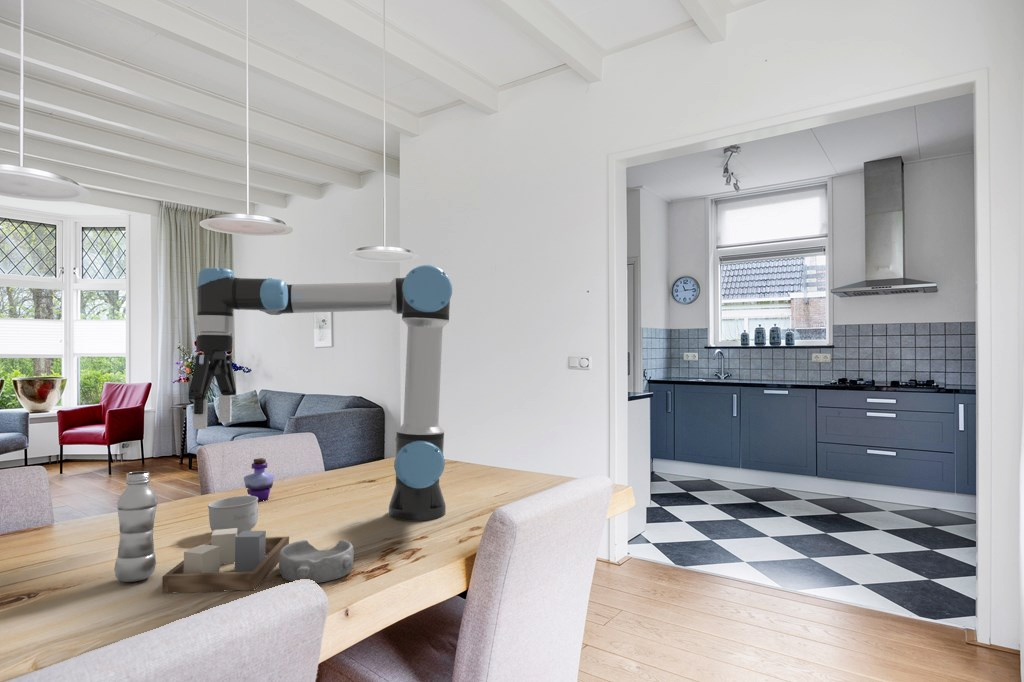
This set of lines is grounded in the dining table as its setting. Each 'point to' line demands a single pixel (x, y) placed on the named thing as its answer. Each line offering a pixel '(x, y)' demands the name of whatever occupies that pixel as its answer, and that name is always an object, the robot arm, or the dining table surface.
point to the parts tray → (224, 574)
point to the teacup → (234, 513)
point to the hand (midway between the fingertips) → (213, 425)
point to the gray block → (249, 550)
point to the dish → (315, 561)
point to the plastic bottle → (136, 529)
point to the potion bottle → (259, 480)
